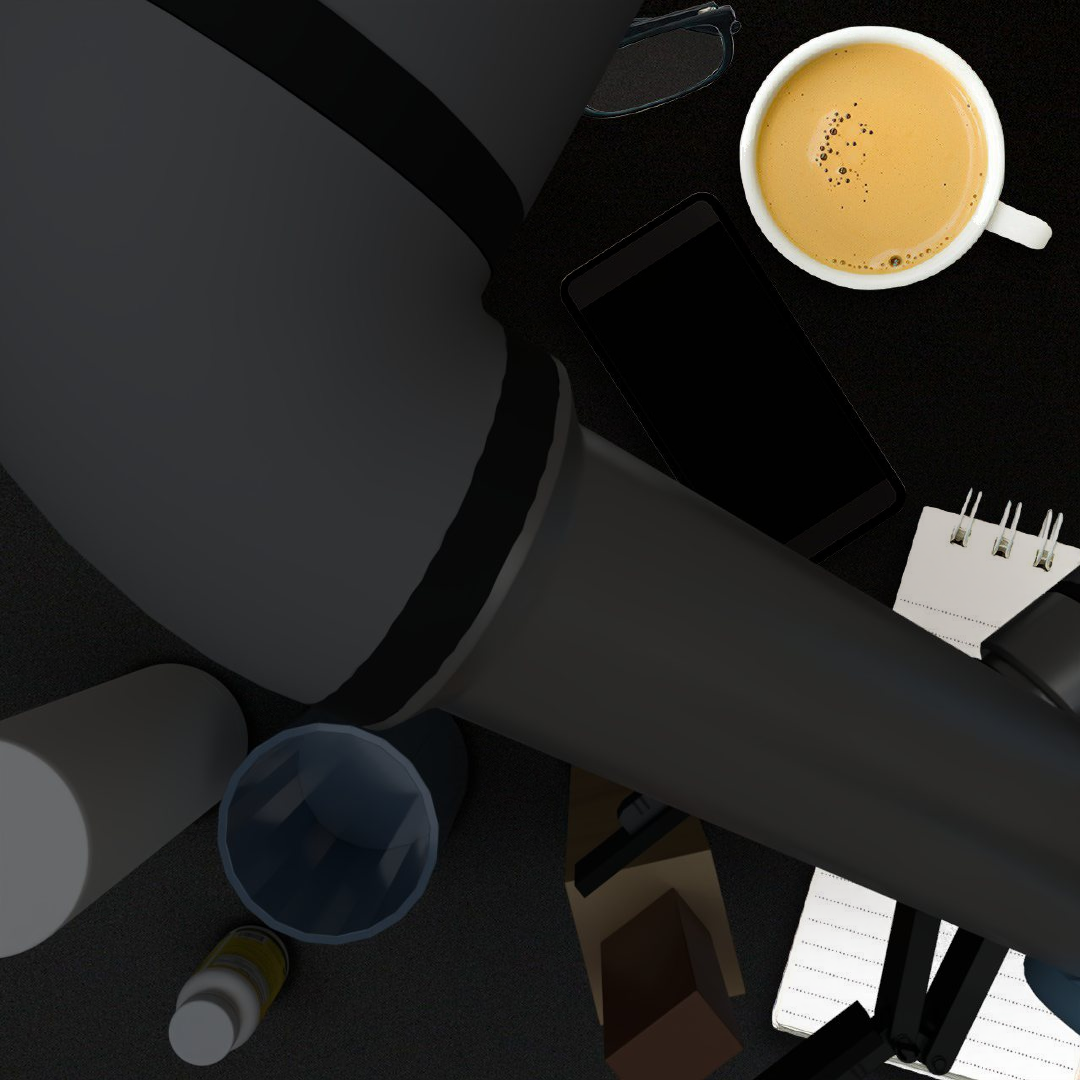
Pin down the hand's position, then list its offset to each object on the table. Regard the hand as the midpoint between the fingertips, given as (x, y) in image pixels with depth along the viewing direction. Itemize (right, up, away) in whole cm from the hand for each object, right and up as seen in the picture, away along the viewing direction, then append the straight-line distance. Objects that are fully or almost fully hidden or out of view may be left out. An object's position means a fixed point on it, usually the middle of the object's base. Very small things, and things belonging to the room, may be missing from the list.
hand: (669, 992), depth 46 cm
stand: (+1, +1, +31) cm, 31 cm away
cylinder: (-36, +5, +33) cm, 49 cm away
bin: (-19, +3, +32) cm, 37 cm away
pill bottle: (-29, -13, +33) cm, 46 cm away
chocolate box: (0, 0, +6) cm, 6 cm away
